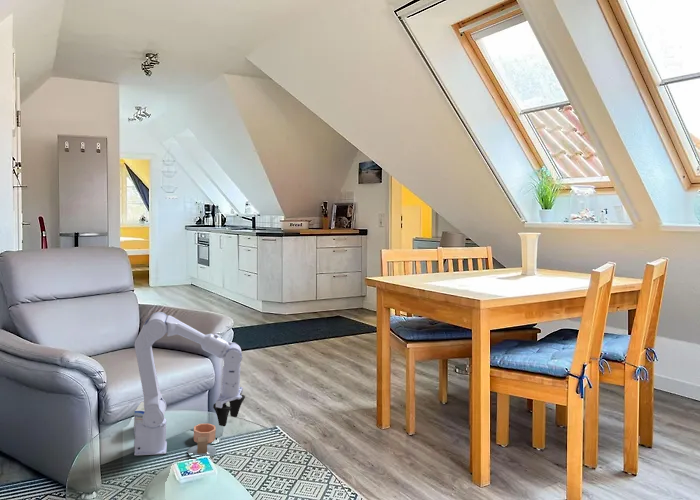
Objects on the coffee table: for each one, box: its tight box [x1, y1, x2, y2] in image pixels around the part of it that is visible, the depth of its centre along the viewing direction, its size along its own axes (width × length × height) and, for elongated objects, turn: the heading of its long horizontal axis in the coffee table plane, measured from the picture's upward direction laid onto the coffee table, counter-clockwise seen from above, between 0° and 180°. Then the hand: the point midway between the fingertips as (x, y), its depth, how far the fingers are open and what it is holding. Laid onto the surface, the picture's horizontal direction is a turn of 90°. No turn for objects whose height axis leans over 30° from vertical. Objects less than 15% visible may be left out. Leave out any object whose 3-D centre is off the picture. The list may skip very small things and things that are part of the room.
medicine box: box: [133, 401, 144, 436], centre depth 197 cm, size 8×4×9 cm, turn 5°
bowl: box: [193, 423, 217, 445], centre depth 195 cm, size 7×7×4 cm
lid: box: [187, 437, 217, 457], centre depth 186 cm, size 9×9×5 cm
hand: (228, 421), depth 189 cm, fingers open, 7 cm apart
